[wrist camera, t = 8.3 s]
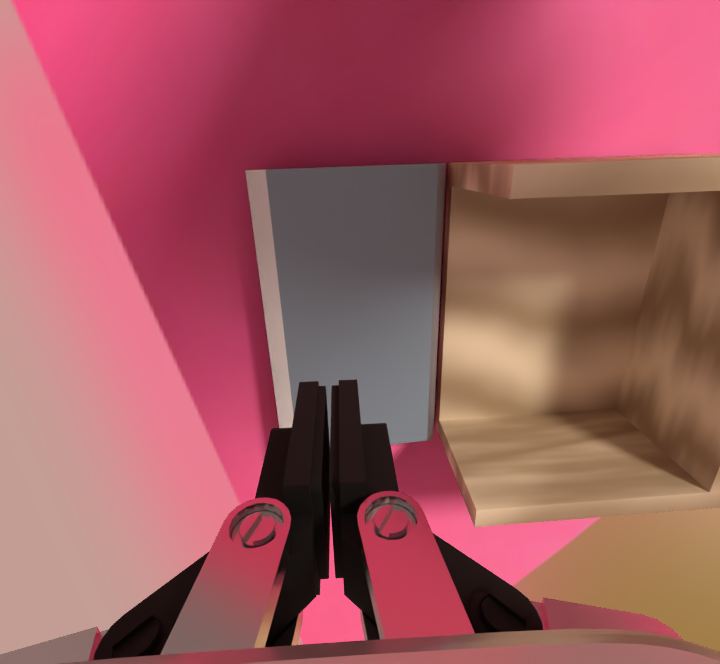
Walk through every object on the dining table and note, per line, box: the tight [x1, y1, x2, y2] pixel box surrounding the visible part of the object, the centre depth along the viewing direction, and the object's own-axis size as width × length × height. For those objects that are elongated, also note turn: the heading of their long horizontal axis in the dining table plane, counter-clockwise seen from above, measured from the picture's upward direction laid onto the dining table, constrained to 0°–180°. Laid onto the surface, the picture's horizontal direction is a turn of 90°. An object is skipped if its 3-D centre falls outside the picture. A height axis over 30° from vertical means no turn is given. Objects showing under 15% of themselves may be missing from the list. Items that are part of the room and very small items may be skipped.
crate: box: [435, 154, 720, 527], centre depth 23 cm, size 18×14×9 cm
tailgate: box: [245, 163, 446, 445], centre depth 25 cm, size 18×1×11 cm
